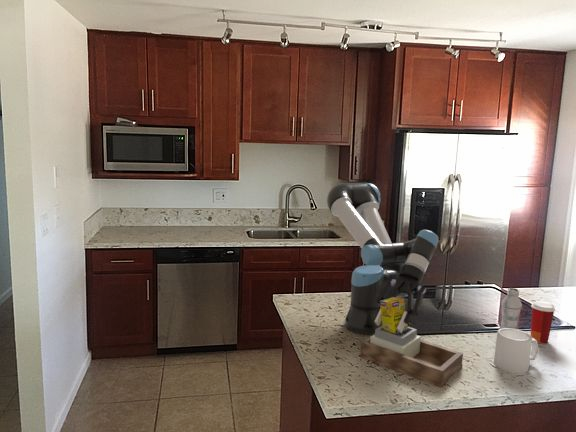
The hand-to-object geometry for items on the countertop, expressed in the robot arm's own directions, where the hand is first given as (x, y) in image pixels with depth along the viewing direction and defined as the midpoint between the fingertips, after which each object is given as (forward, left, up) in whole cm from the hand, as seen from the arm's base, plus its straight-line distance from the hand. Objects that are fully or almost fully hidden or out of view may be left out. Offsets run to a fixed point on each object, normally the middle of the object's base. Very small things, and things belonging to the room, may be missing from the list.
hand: (387, 327), depth 152 cm
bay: (+7, +3, -11) cm, 13 cm away
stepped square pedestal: (+1, +3, -10) cm, 10 cm away
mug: (+33, +25, -11) cm, 43 cm away
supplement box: (+1, +4, -3) cm, 5 cm away
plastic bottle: (+26, +42, -11) cm, 51 cm away
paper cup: (+34, +52, -11) cm, 63 cm away
